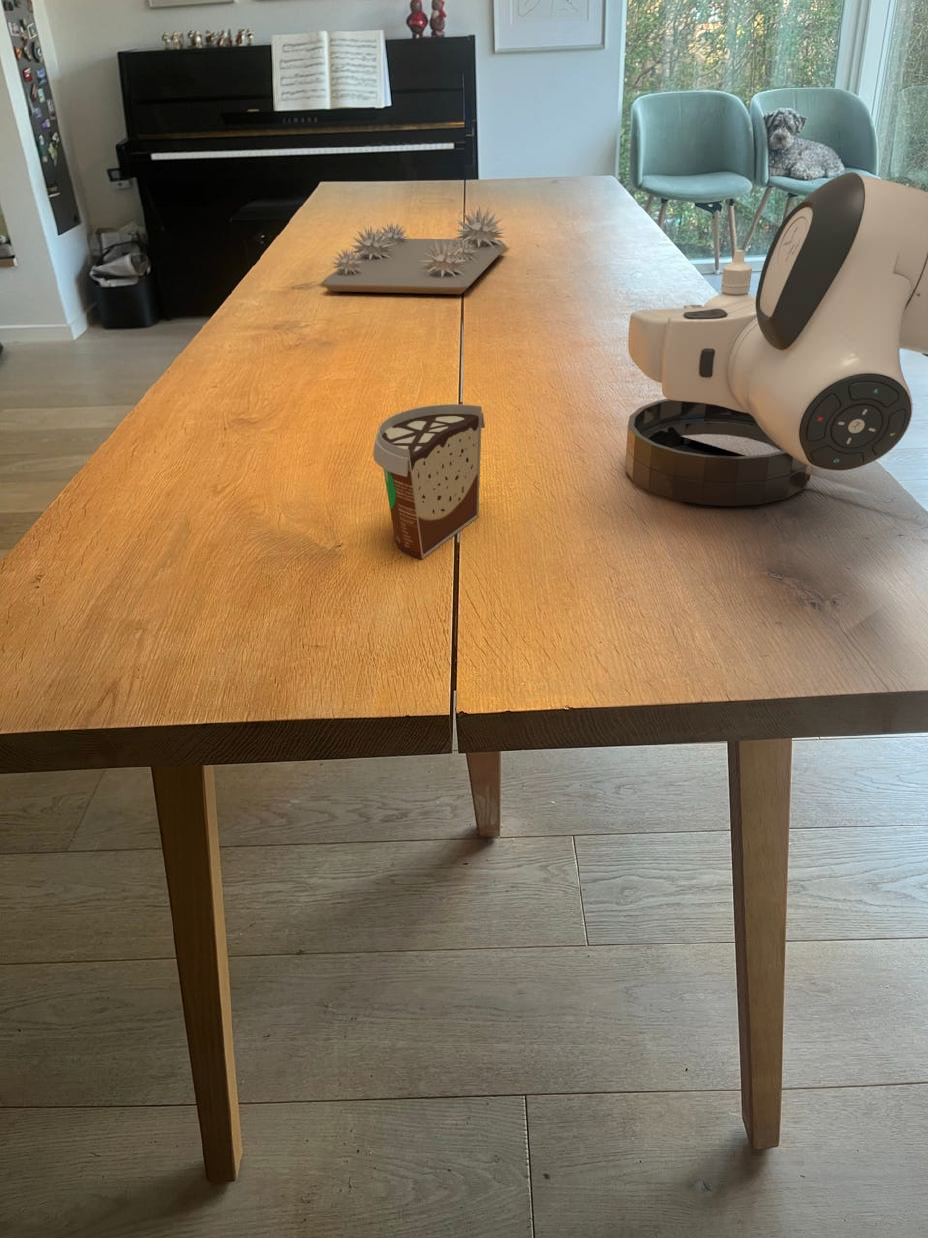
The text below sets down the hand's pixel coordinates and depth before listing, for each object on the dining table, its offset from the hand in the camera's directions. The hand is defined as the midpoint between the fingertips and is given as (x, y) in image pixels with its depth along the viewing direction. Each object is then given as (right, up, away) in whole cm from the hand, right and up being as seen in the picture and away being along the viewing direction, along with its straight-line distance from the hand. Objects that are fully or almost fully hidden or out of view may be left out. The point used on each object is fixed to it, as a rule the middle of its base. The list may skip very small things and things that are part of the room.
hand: (729, 312), depth 88 cm
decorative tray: (-31, +34, +89) cm, 100 cm away
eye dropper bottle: (0, -6, +3) cm, 7 cm away
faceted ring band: (+1, -13, +7) cm, 15 cm away
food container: (-27, -20, -1) cm, 34 cm away
